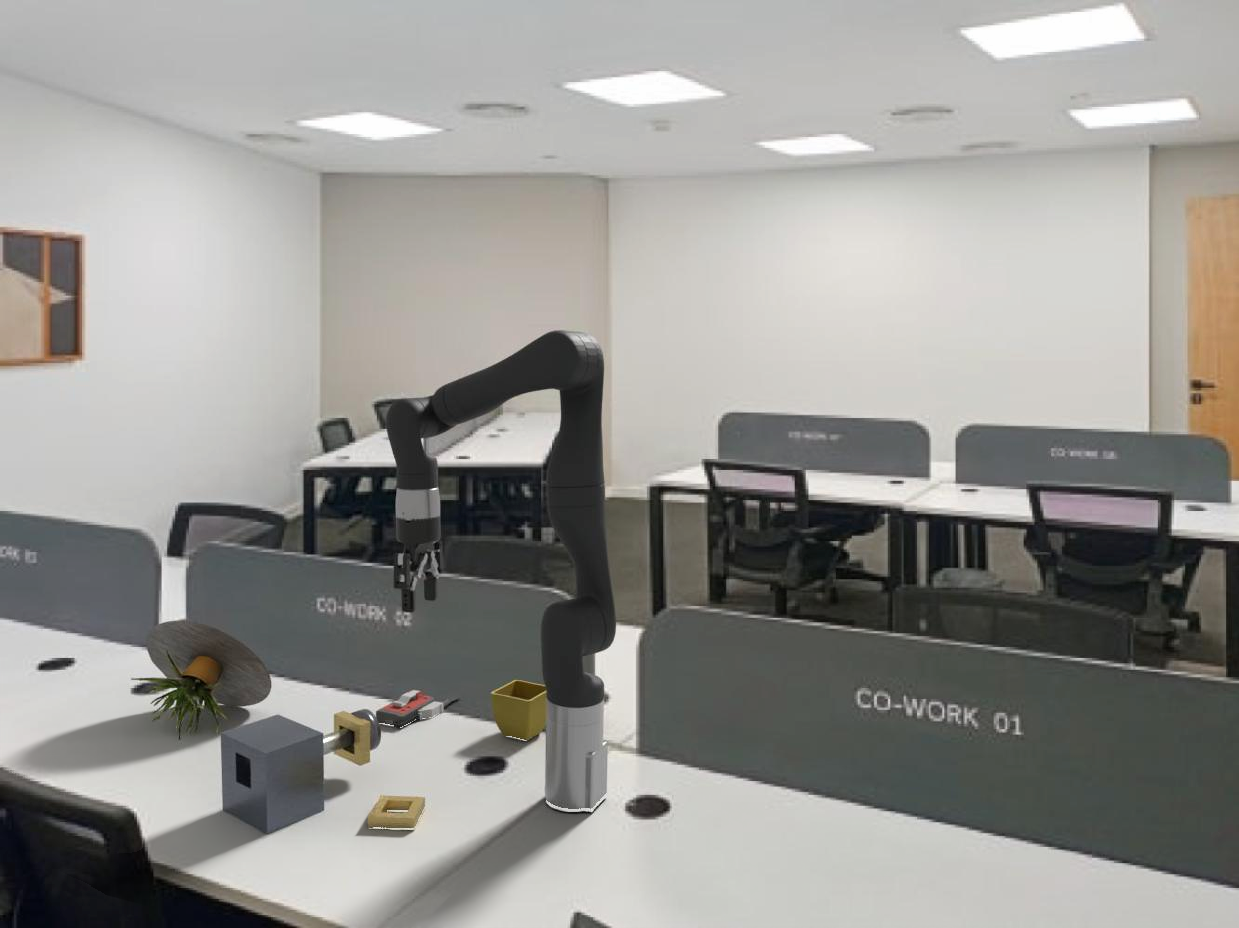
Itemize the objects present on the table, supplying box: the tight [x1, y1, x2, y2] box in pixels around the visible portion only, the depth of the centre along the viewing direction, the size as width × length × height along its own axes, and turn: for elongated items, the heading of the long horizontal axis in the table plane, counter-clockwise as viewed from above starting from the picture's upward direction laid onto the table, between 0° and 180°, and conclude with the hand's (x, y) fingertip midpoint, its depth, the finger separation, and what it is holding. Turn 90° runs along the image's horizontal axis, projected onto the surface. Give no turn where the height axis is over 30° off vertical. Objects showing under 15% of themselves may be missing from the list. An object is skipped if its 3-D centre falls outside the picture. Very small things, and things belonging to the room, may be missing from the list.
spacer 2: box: [367, 795, 426, 828], centre depth 151 cm, size 7×7×2 cm
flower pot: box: [490, 679, 547, 740], centre depth 184 cm, size 9×9×9 cm
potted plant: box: [130, 620, 272, 741], centre depth 184 cm, size 25×18×25 cm
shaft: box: [323, 708, 382, 756], centre depth 158 cm, size 20×7×7 cm, turn 143°
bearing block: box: [220, 714, 325, 835], centre depth 152 cm, size 10×12×12 cm
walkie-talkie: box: [375, 689, 449, 729], centre depth 195 cm, size 9×4×20 cm
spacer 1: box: [333, 710, 371, 767], centre depth 164 cm, size 2×7×7 cm, turn 53°
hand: (420, 605), depth 171 cm, fingers open, 8 cm apart
